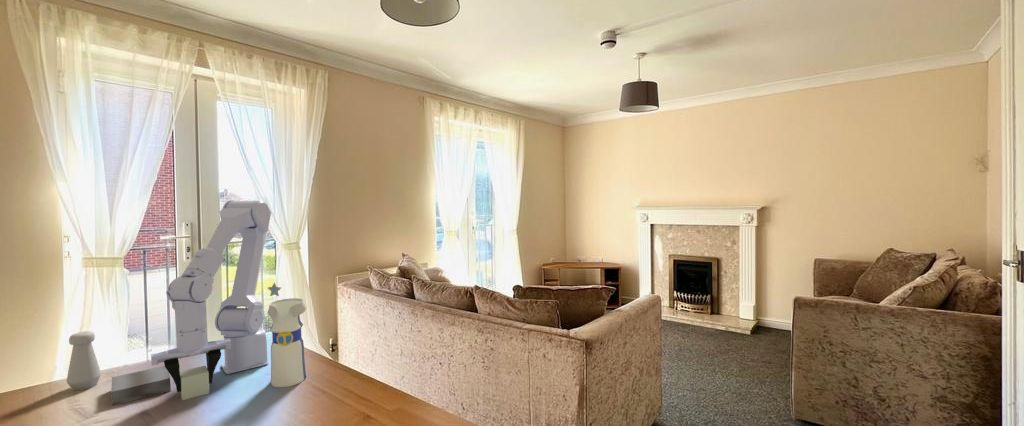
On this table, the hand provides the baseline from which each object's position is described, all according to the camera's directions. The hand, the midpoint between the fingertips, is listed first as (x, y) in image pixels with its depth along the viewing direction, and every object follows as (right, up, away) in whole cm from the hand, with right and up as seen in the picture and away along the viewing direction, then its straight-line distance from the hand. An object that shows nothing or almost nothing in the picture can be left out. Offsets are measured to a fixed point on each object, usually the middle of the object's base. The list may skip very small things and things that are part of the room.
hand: (194, 386), depth 98 cm
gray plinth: (-13, -1, +1) cm, 14 cm away
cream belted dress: (+19, -1, +6) cm, 20 cm away
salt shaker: (-29, -2, +4) cm, 29 cm away
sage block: (0, -2, 0) cm, 2 cm away
